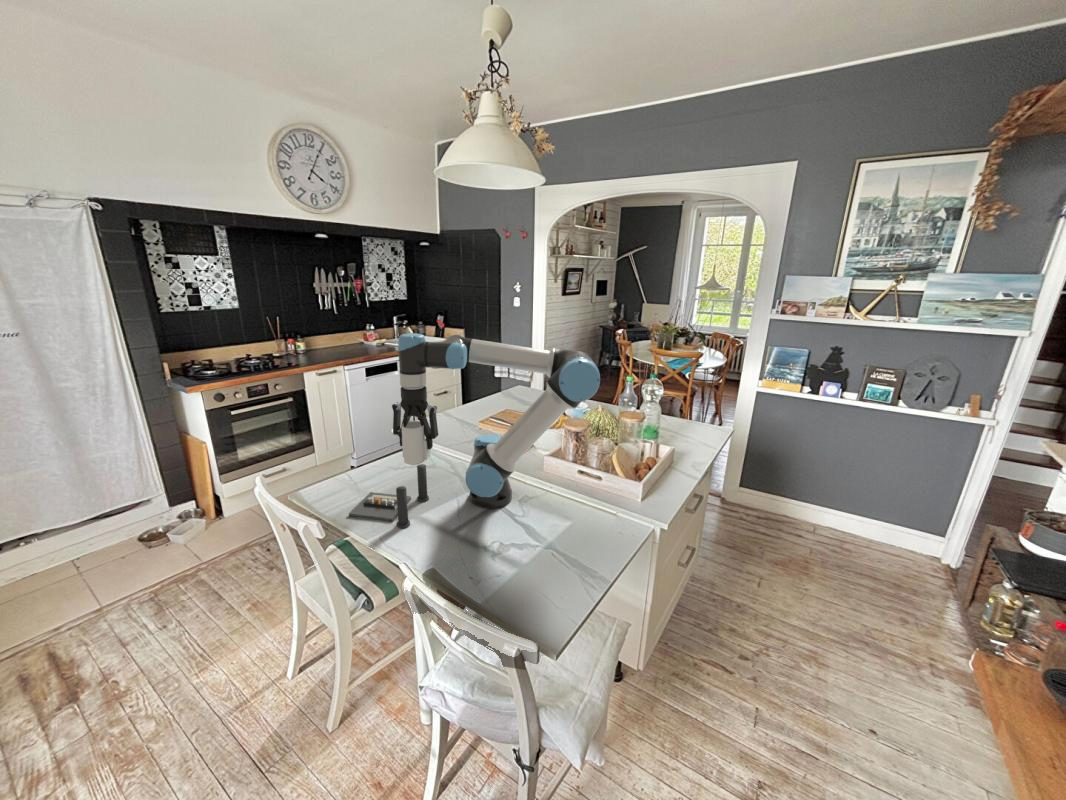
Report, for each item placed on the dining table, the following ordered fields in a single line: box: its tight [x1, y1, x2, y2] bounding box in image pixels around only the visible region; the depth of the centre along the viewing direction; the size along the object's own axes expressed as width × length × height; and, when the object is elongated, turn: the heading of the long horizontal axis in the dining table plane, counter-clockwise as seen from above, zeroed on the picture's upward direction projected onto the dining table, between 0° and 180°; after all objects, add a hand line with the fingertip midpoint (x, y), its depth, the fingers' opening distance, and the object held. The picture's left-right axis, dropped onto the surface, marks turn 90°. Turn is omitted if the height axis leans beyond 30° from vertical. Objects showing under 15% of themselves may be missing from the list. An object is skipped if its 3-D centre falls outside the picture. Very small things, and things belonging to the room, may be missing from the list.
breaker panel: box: [348, 491, 412, 523], centre depth 142 cm, size 15×14×3 cm
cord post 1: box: [395, 485, 411, 529], centre depth 131 cm, size 4×4×13 cm
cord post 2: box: [416, 463, 430, 503], centre depth 146 cm, size 4×4×13 cm
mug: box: [400, 420, 426, 466], centre depth 131 cm, size 10×7×12 cm, turn 150°
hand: (416, 456), depth 132 cm, fingers closed on mug, 6 cm apart
